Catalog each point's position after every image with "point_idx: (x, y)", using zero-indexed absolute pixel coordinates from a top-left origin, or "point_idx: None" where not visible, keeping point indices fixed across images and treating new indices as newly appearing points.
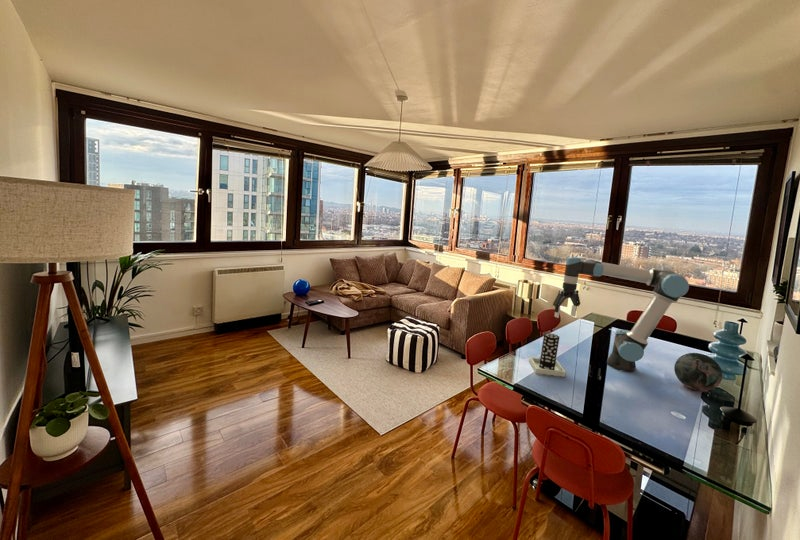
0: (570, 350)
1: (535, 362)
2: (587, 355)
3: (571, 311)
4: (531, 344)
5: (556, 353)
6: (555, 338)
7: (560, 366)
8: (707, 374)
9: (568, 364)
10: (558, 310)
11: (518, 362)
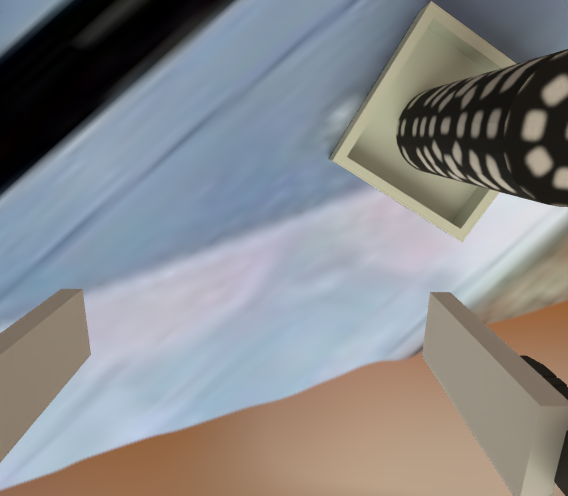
0: (69, 288)
1: (437, 208)
2: (12, 205)
3: (56, 390)
4: (246, 404)
5: (478, 75)
6: None
7: (391, 80)
8: None
9: (248, 140)
10: (520, 368)
11: (515, 242)
